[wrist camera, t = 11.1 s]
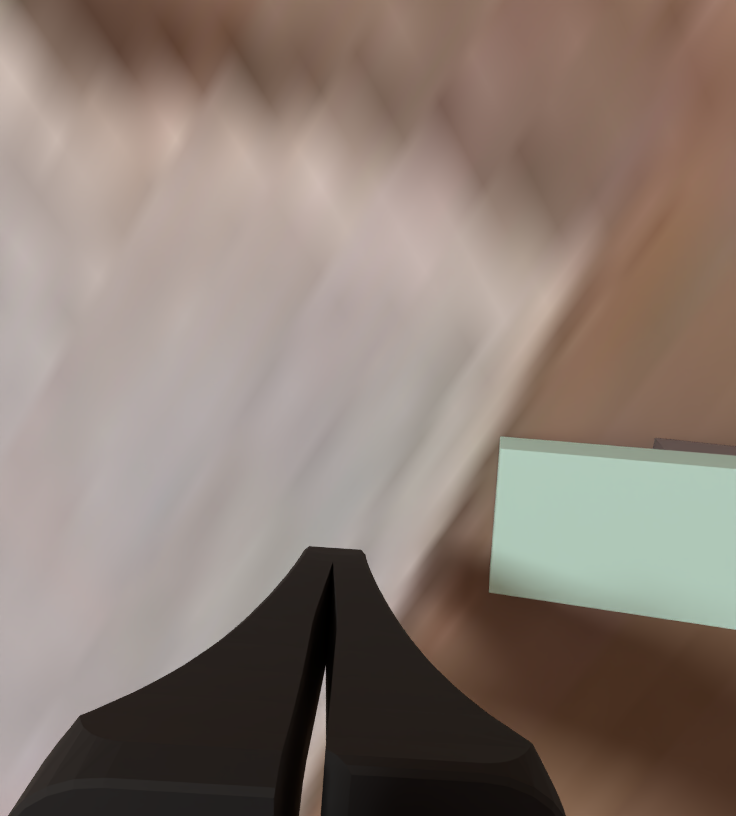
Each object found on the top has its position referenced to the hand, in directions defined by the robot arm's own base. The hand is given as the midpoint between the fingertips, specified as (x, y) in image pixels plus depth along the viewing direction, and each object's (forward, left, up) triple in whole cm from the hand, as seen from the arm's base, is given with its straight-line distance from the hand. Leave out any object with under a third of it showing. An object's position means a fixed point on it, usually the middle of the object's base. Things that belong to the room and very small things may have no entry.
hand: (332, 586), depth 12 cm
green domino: (-4, -2, -4) cm, 6 cm away
